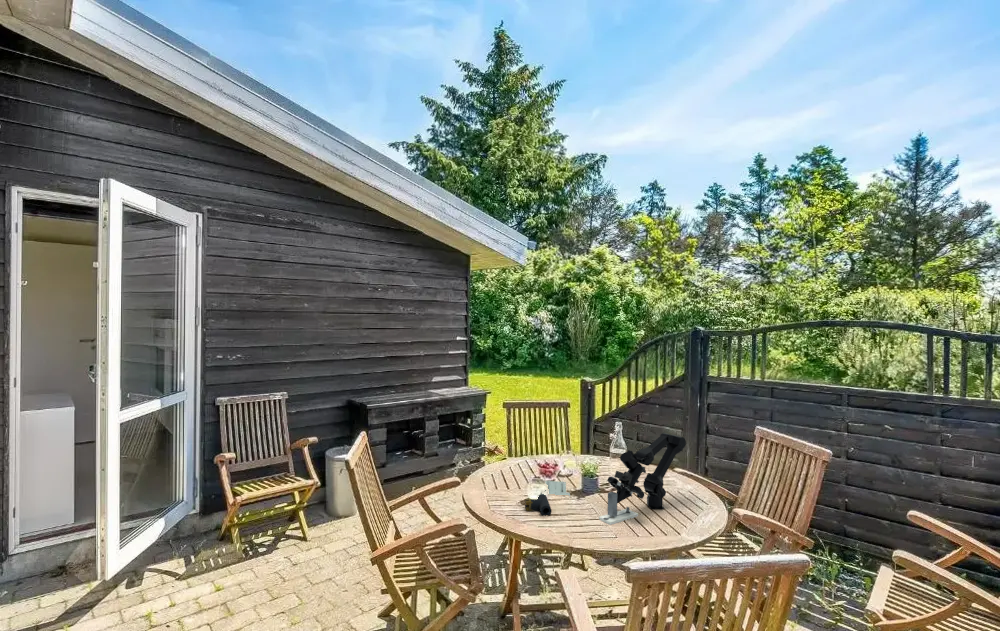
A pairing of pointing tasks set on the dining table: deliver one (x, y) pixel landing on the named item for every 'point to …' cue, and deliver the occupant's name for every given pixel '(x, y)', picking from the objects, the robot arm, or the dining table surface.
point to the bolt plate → (618, 516)
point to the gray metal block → (612, 504)
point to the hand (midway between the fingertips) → (616, 502)
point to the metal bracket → (557, 487)
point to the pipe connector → (539, 505)
